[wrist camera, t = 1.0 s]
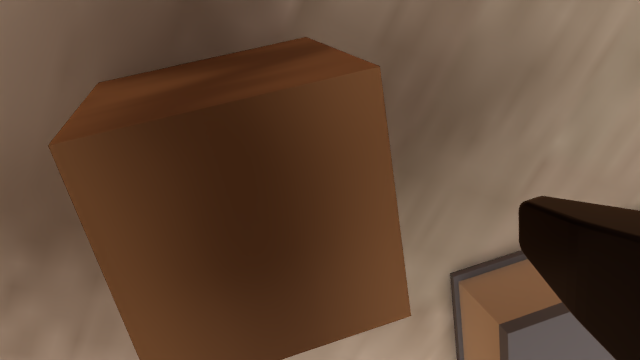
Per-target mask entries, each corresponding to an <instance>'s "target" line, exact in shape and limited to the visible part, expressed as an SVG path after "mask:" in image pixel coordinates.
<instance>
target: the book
mask: <svg viewBox="0 0 640 360" xmlns="http://www.w3.org/2000/svg"><path fill="white" fill-rule="evenodd" d="M450 278H451V290H452V303H453V315H454V328H455V341H456V353H457V360H615V359H614V358H613V356H612V355H611V354H610V353H609V352H608V351H607V350H606V349H605V348H604V347H603V346H602V345H601V344H600V343H599V342H598V341H597V340H596V339H595V338H594V337H593V336H592V335H591V334H590V333H589V332H588V331H587V330H586V329H585V328H584V327H583V326H582V325H581V323H580V322H579V321H578V320H577V319H576V318H575V317H574V316H573V315H572V313H571V312H570V311H569V310H568V309H567V308H566V306H565V305H564V304H563V303H562V301H561V300H560V299H559V298H558V296H557V295H556V294H555V293H554V291H553V290H552V289H551V288H550V286H549V285H548V284H547V283H546V281H545V280H544V279H543V277H542V276H541V275H540V274H539V272H538V271H537V270H536V269H535V267H534V266H533V265H532V264H531V262H530V261H529V260H528V259H527V257H526V256H525V255H524V253H523V252H522V250H521V251H518V252H515V253H512V254H509V255H506V256H503V257H499V258H496V259H493V260H490V261H487V262H484V263H481V264H478V265H475V266H472V267H469V268H466V269H463V270H459V271H456V272H453V273H450Z"/></svg>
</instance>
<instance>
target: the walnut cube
mask: <svg viewBox="0 0 640 360" xmlns="http://www.w3.org/2000/svg"><path fill="white" fill-rule="evenodd" d="M48 147H49V149H50V151H51V154H52V156H53V158H54V161H55V163H56V165H57V168H58V170H59V172H60V175H61V177H62V179H63V182H64V184H65V186H66V189H67V191H68V193H69V196H70V198H71V200H72V203H73V205H74V207H75V210H76V212H77V214H78V217H79V219H80V221H81V224H82V226H83V228H84V231H85V233H86V235H87V238H88V240H89V242H90V245H91V247H92V249H93V252H94V254H95V256H96V259H97V261H98V263H99V266H100V268H101V270H102V273H103V275H104V277H105V280H106V282H107V284H108V287H109V289H110V291H111V294H112V296H113V298H114V301H115V303H116V305H117V308H118V310H119V312H120V315H121V317H122V319H123V322H124V324H125V326H126V329H127V331H128V333H129V336H130V338H131V340H132V343H133V345H134V347H135V350H136V352H137V354H138V357H139V359H140V360H282V359H284V358H287V357H290V356H293V355H296V354H299V353H302V352H305V351H308V350H311V349H314V348H317V347H320V346H323V345H326V344H329V343H332V342H335V341H338V340H341V339H344V338H347V337H350V336H353V335H356V334H359V333H362V332H365V331H368V330H371V329H374V328H376V327H379V326H382V325H385V324H388V323H391V322H394V321H397V320H400V319H403V318H406V317H409V316H411V312H410V304H409V296H408V288H407V280H406V272H405V264H404V256H403V248H402V240H401V232H400V224H399V216H398V208H397V200H396V192H395V184H394V176H393V168H392V160H391V152H390V144H389V136H388V128H387V120H386V112H385V104H384V96H383V88H382V80H381V72H380V66H378V65H375V64H373V63H370V62H368V61H365V60H363V59H360V58H358V57H355V56H352V55H350V54H347V53H345V52H342V51H340V50H337V49H335V48H332V47H330V46H327V45H325V44H322V43H320V42H317V41H315V40H312V39H310V38H307V37H304V38H299V39H295V40H290V41H285V42H281V43H276V44H272V45H267V46H263V47H258V48H254V49H249V50H245V51H240V52H236V53H231V54H227V55H222V56H218V57H213V58H208V59H204V60H199V61H195V62H190V63H186V64H181V65H177V66H172V67H168V68H163V69H159V70H154V71H150V72H145V73H141V74H136V75H131V76H127V77H122V78H118V79H113V80H109V81H104V82H100V83H98V84H97V85H96V86H95V87H94V89H93V90H92V91H91V92H90V94H89V95H88V96H87V97H86V99H85V100H84V101H83V102H82V104H81V105H80V106H79V107H78V109H77V110H76V111H75V112H74V114H73V115H72V116H71V117H70V119H69V120H68V121H67V122H66V124H65V125H64V126H63V127H62V129H61V130H60V131H59V132H58V134H57V135H56V136H55V137H54V139H53V140H52V141H51V142H50V144H49V145H48Z"/></svg>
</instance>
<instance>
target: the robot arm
mask: <svg viewBox="0 0 640 360" xmlns="http://www.w3.org/2000/svg"><path fill="white" fill-rule="evenodd" d="M519 243H520V247H521V250H522V252H523V253H524V255H525V256H526V257H527V259H528V260H529V261H530V262H531V264H532V265H533V266H534V267H535V269H536V270H537V271H538V272H539V274H540V275H541V276H542V277H543V279H544V280H545V281H546V283H547V284H548V285H549V286H550V288H551V289H552V290H553V291H554V293H555V294H556V295H557V296H558V298H559V299H560V300H561V301H562V303H563V304H564V305H565V306H566V308H567V309H568V310H569V311H570V312H571V313H572V315H573V316H574V317H575V318H576V319H577V320H578V321H579V322H580V323H581V325H582V326H583V327H584V328H585V329H586V330H587V331H588V332H589V333H590V334H591V335H592V336H593V337H594V338H595V339H596V340H597V341H598V342H599V343H600V344H601V345H602V346H603V347H604V348H605V349H606V350H607V351H608V352H609V353H610V354H611V355H612V356H613V358H614V359H615V360H640V211H638V210H631V209H625V208H618V207H612V206H605V205H599V204H592V203H586V202H579V201H573V200H566V199H560V198H553V197H547V196H540V197H536V198H533V199H530V200H527V201H524V202H522V203H521V205H520V207H519Z"/></svg>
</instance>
